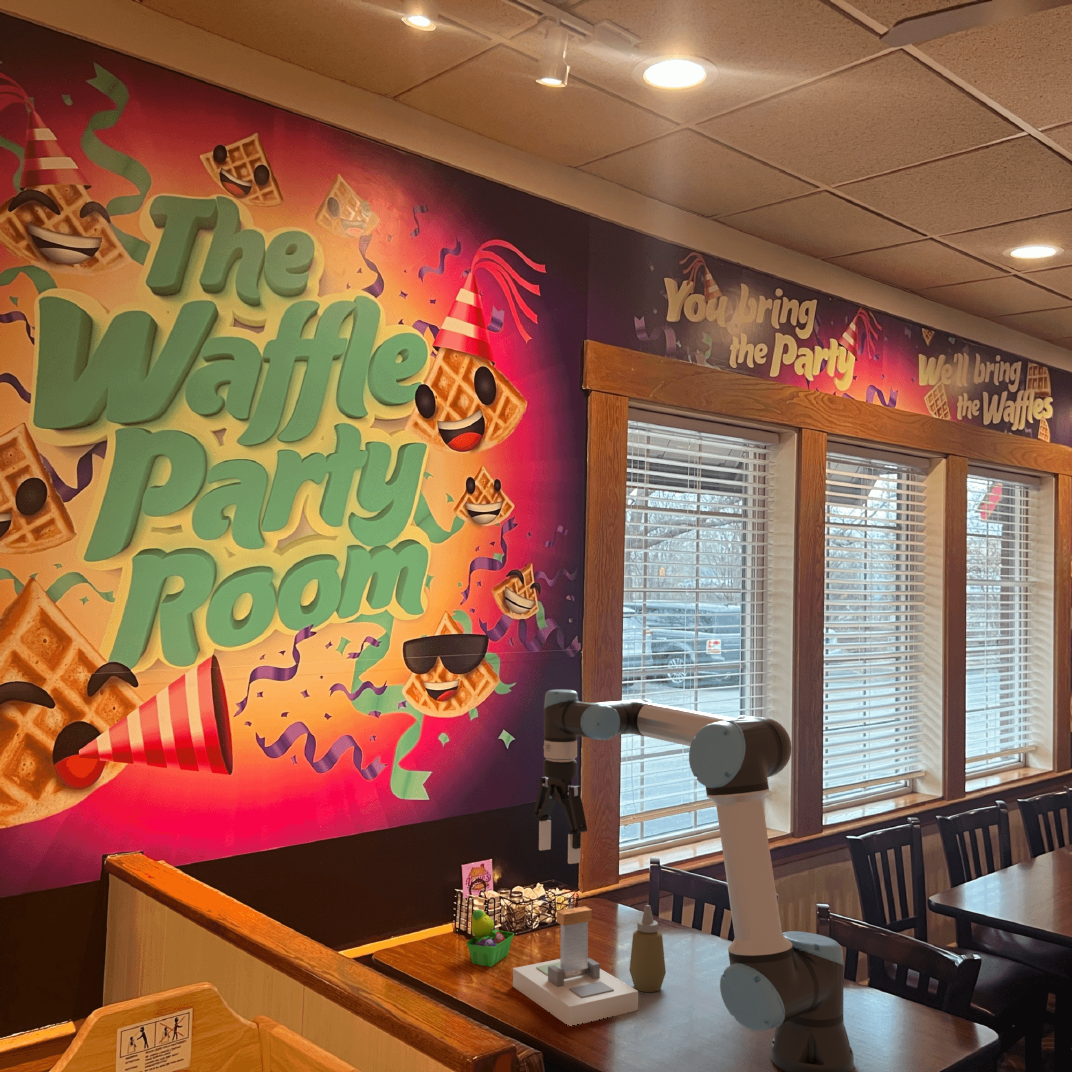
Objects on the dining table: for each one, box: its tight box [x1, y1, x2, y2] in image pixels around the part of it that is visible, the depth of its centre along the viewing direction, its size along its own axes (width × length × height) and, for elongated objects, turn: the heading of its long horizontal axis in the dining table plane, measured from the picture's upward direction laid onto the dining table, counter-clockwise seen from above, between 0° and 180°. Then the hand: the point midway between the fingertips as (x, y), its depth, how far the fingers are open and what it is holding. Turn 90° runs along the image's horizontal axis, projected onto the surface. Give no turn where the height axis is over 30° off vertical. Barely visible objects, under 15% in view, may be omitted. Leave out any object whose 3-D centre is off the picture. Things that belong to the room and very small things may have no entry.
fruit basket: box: [465, 909, 515, 968], centre depth 245 cm, size 11×9×11 cm
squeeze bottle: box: [629, 904, 666, 993], centre depth 228 cm, size 8×8×18 cm
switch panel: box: [512, 957, 639, 1027], centre depth 221 cm, size 24×17×7 cm
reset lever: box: [556, 905, 593, 979], centre depth 222 cm, size 3×7×14 cm, turn 120°
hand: (559, 856), depth 229 cm, fingers open, 12 cm apart
